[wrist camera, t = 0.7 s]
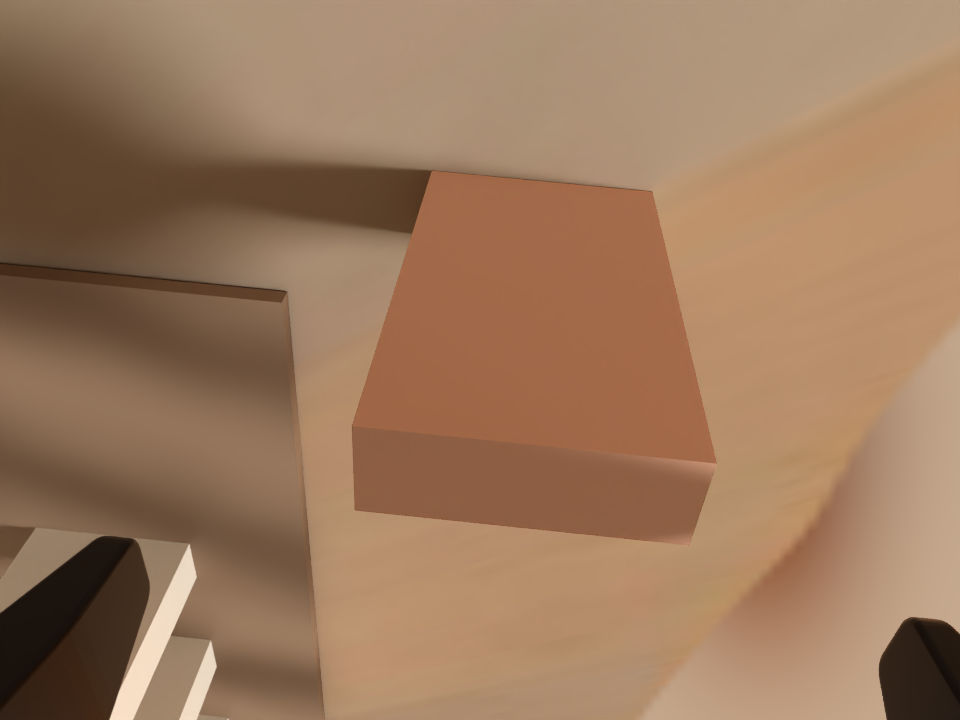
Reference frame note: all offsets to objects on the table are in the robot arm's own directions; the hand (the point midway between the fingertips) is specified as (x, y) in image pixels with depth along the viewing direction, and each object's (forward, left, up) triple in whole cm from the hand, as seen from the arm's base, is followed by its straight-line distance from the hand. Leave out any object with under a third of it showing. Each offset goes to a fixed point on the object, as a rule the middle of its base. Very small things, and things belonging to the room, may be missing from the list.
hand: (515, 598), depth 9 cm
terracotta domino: (0, 0, -10) cm, 10 cm away
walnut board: (-16, -14, -10) cm, 24 cm away
